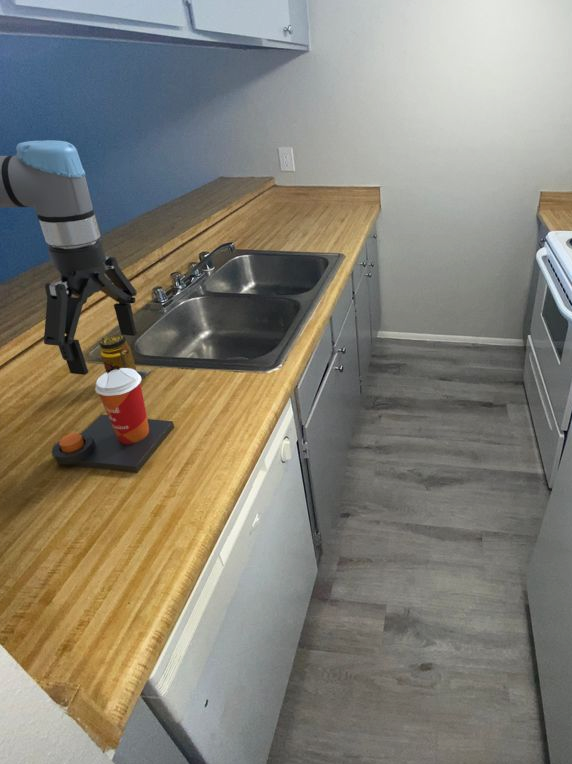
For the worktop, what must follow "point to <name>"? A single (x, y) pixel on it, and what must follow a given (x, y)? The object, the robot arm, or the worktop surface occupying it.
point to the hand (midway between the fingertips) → (106, 352)
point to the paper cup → (124, 404)
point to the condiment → (118, 354)
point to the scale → (113, 447)
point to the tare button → (71, 442)
